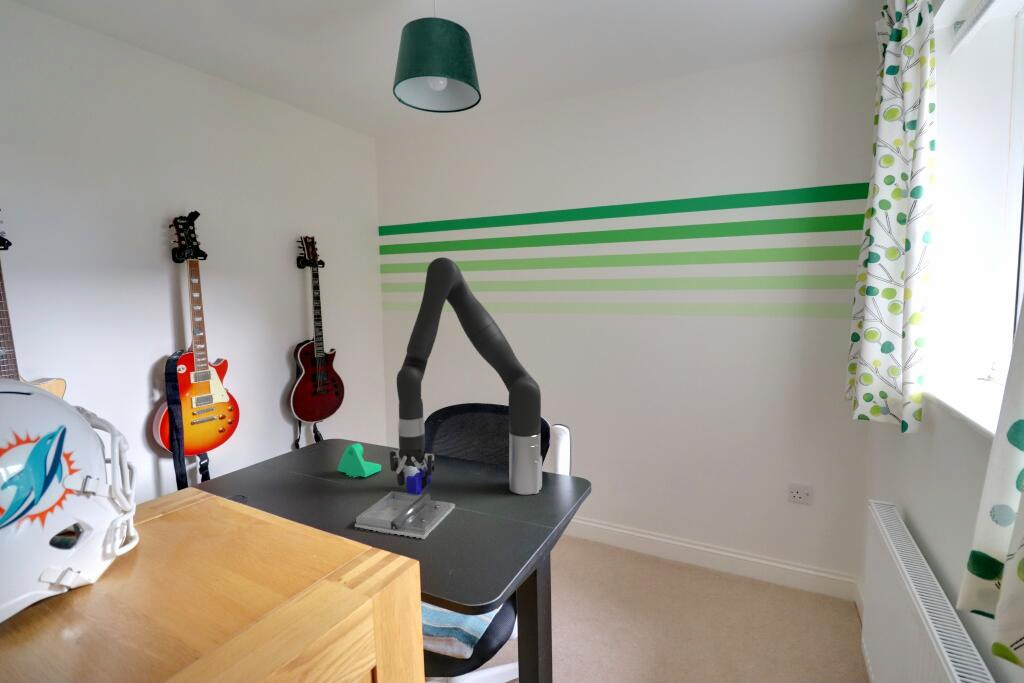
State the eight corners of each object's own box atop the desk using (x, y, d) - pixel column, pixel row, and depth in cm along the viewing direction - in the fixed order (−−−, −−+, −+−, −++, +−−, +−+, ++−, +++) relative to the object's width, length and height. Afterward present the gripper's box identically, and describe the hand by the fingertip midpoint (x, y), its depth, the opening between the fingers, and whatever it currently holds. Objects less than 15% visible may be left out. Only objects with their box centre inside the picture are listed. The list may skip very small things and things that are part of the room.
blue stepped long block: (417, 481, 148) (416, 463, 147) (431, 482, 147) (430, 464, 147) (401, 497, 136) (401, 477, 136) (416, 498, 135) (416, 478, 135)
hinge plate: (454, 507, 129) (454, 495, 129) (424, 539, 112) (423, 525, 112) (393, 498, 135) (393, 487, 135) (355, 528, 118) (354, 515, 118)
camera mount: (382, 472, 156) (381, 442, 155) (365, 480, 149) (364, 448, 148) (356, 466, 161) (355, 437, 161) (338, 474, 155) (337, 443, 154)
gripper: (439, 430, 141) (440, 484, 143) (396, 427, 146) (398, 479, 147) (427, 437, 134) (429, 494, 136) (383, 433, 138) (385, 488, 140)
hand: (413, 486), depth 141 cm, fingers open, 7 cm apart
